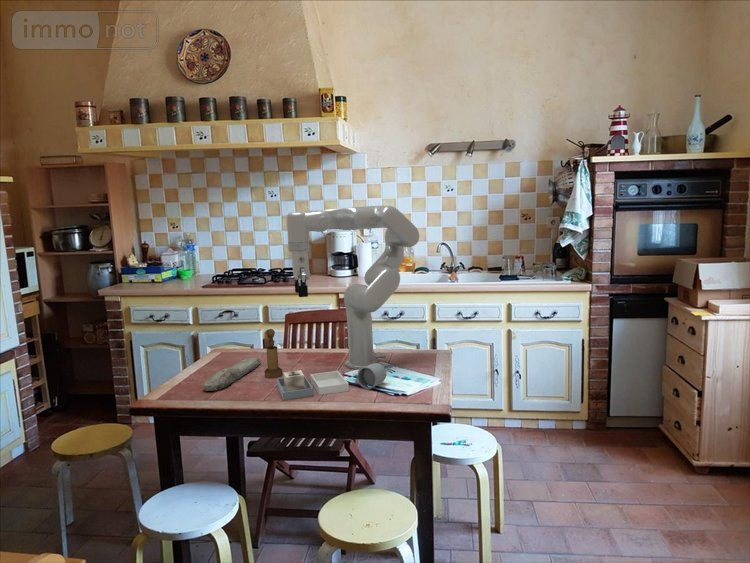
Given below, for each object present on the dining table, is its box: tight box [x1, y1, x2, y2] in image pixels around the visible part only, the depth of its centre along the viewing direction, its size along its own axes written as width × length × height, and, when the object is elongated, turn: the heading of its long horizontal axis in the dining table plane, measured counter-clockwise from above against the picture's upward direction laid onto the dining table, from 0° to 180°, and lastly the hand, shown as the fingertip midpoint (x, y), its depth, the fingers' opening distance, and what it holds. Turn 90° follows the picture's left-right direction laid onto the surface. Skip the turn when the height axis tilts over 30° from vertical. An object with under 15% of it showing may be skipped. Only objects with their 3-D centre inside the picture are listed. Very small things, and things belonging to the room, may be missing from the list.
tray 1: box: [275, 374, 315, 401], centre depth 190 cm, size 10×15×3 cm, turn 18°
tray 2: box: [310, 370, 350, 396], centre depth 193 cm, size 10×15×3 cm, turn 18°
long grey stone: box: [202, 356, 262, 392], centre depth 209 cm, size 35×5×10 cm
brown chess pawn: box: [264, 328, 284, 379], centre depth 206 cm, size 7×6×18 cm
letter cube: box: [282, 369, 305, 392], centre depth 189 cm, size 6×6×6 cm
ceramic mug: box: [354, 362, 387, 390], centre depth 193 cm, size 11×8×8 cm
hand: (301, 294), depth 201 cm, fingers open, 9 cm apart
